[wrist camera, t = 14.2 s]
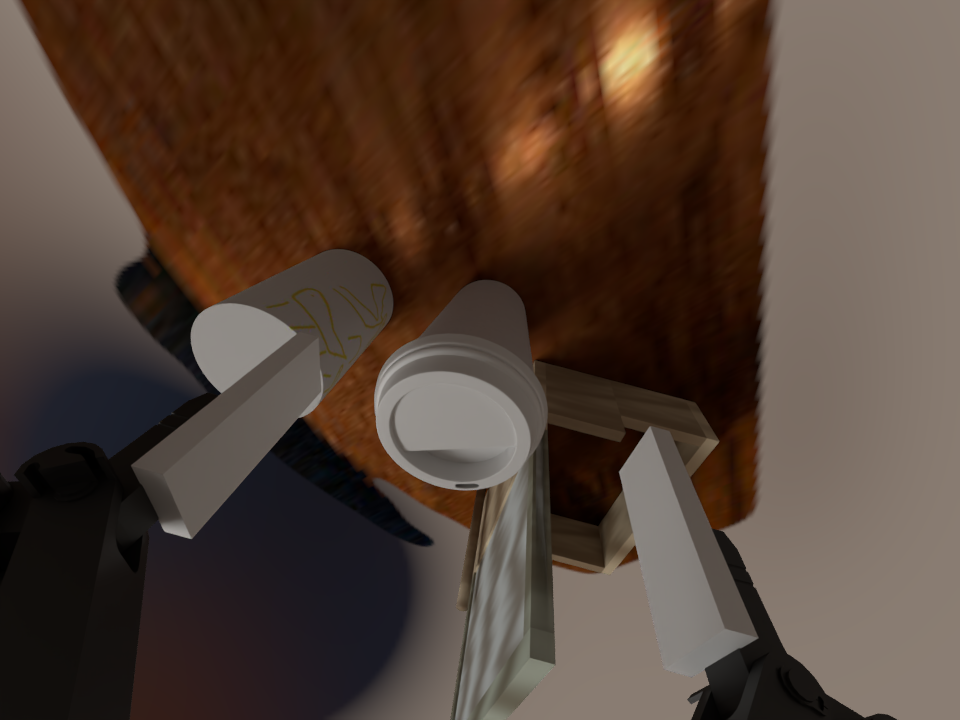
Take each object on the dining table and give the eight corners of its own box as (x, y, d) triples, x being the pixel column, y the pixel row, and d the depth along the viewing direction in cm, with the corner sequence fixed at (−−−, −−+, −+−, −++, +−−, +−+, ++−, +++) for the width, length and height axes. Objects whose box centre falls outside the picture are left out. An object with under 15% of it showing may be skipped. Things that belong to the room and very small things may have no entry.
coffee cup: (428, 350, 33) (359, 476, 20) (441, 248, 28) (360, 332, 15) (527, 373, 33) (521, 517, 20) (558, 275, 28) (576, 384, 15)
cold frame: (520, 356, 32) (496, 648, 13) (695, 402, 32) (916, 761, 13) (473, 498, 43) (424, 766, 24) (603, 532, 43) (652, 828, 24)
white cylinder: (399, 338, 33) (337, 423, 23) (318, 334, 34) (224, 415, 24) (385, 249, 29) (300, 305, 19) (293, 248, 30) (166, 301, 20)
